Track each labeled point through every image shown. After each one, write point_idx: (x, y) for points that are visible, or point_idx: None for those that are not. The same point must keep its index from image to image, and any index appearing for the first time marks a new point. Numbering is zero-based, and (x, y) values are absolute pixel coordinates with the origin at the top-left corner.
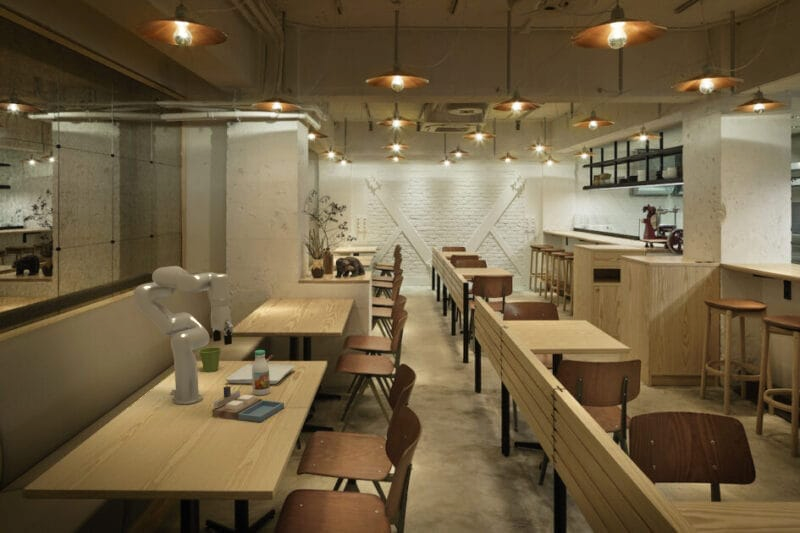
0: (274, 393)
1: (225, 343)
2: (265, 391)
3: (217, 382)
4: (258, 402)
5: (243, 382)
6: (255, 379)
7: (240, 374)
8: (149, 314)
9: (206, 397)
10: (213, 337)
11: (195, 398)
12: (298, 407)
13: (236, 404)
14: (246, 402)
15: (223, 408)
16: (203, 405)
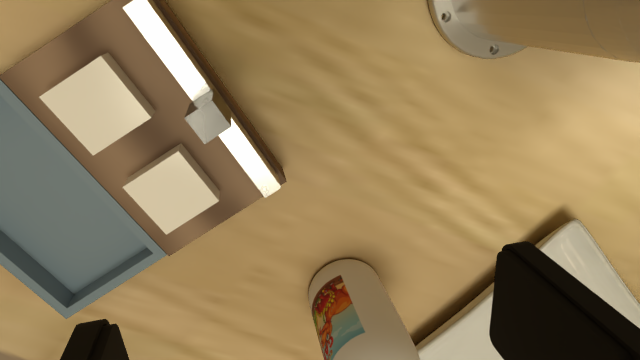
0: (302, 326)
1: (76, 348)
2: (309, 303)
3: (613, 192)
4: (140, 229)
5: None
6: (345, 309)
7: (600, 292)
8: None
9: (468, 77)
10: (569, 279)
11: (454, 5)
12: (51, 347)
13: (56, 104)
14: (132, 175)
15: (124, 42)
16: (365, 16)
